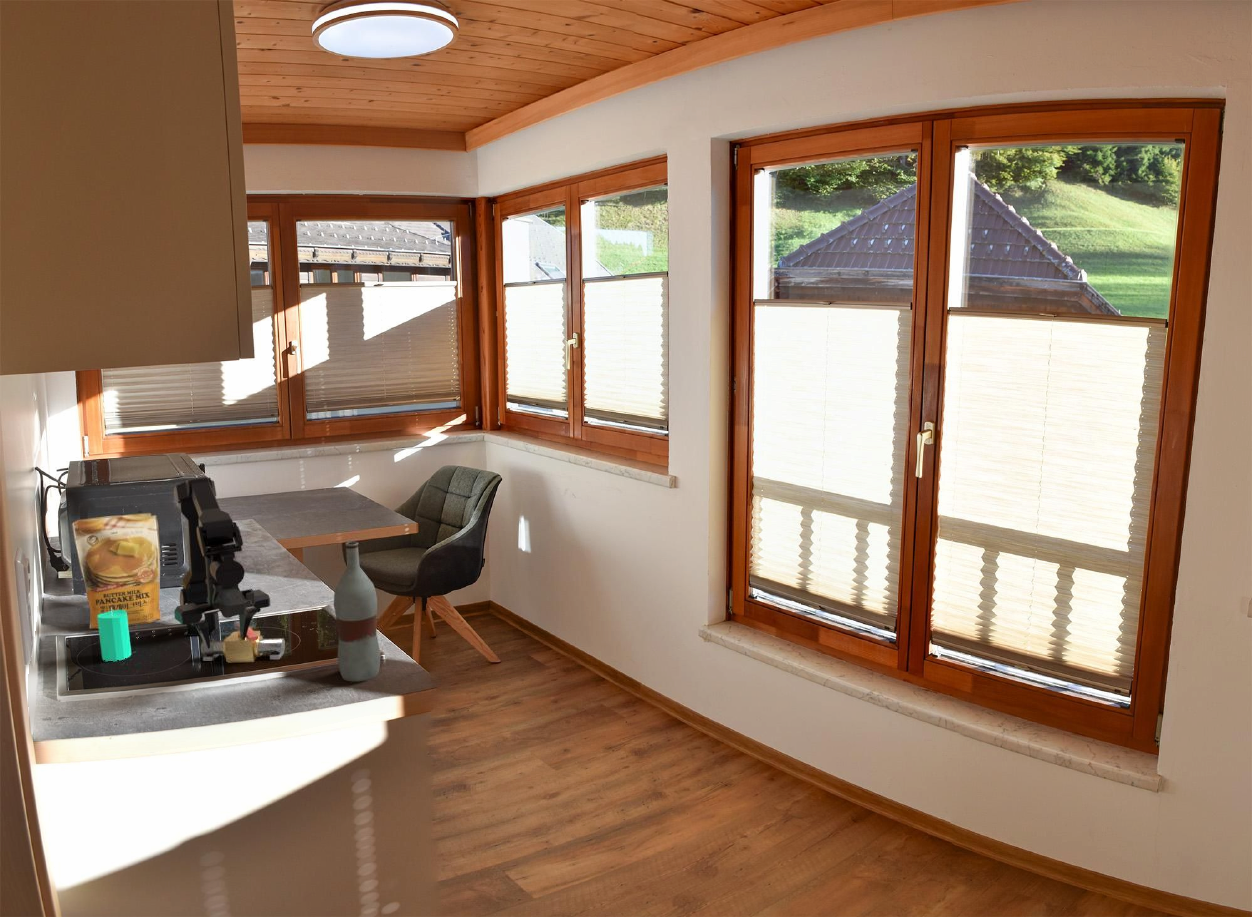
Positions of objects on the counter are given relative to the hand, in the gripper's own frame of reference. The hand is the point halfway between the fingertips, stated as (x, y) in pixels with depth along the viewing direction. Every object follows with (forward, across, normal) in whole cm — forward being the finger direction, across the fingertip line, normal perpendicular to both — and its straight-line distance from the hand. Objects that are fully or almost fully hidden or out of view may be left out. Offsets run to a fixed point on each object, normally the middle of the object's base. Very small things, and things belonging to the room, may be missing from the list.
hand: (226, 643), depth 209 cm
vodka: (+7, +22, -20) cm, 30 cm away
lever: (0, +6, +3) cm, 7 cm away
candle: (+8, -15, +29) cm, 33 cm away
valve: (+7, +6, +8) cm, 12 cm away
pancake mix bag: (+8, -7, +52) cm, 53 cm away
